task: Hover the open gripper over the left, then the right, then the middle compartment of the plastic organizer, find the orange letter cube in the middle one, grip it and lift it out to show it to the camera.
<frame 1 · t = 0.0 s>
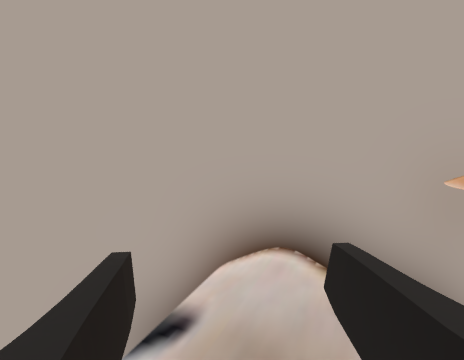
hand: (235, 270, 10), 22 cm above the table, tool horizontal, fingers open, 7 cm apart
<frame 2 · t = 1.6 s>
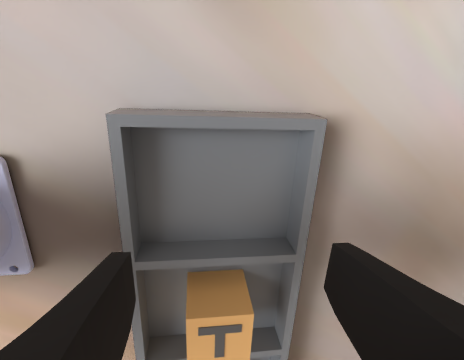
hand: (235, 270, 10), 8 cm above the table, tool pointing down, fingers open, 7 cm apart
organizer: (214, 288, 20), on the table
letter cube: (215, 292, 20), resting on organizer
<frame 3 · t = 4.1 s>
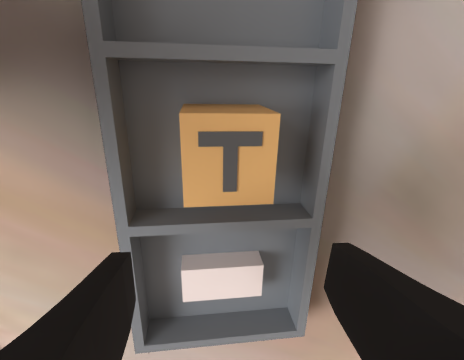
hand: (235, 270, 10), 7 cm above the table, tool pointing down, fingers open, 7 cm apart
organizer: (221, 139, 15), on the table
letter cube: (221, 141, 15), resting on organizer
eraser: (220, 267, 18), resting on organizer
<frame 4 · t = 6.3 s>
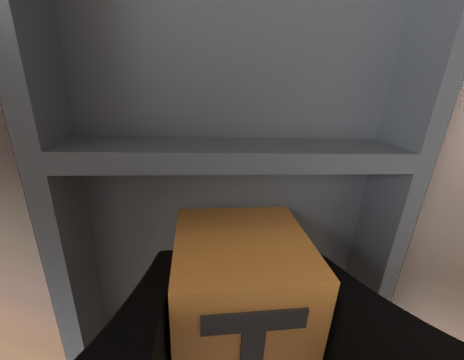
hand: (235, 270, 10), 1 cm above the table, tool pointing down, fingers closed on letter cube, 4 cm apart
organizer: (230, 247, 11), on the table
letter cube: (231, 253, 10), resting on organizer, touching gripper
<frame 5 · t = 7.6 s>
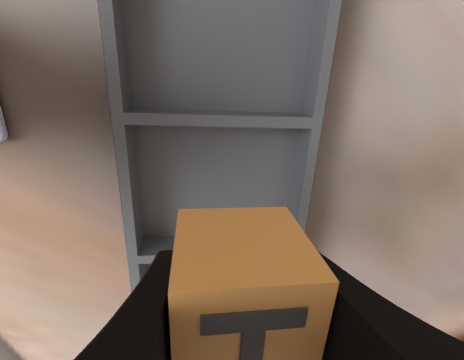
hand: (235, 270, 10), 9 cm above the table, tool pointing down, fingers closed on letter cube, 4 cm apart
organizer: (217, 180, 18), on the table
letter cube: (231, 253, 11), point 8 cm above the table, touching gripper
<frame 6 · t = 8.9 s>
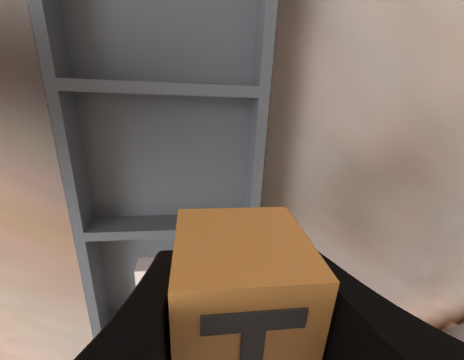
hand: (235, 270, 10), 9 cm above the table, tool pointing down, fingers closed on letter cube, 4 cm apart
organizer: (170, 157, 17), on the table
letter cube: (231, 253, 11), point 8 cm above the table, touching gripper
eraser: (174, 269, 20), resting on organizer
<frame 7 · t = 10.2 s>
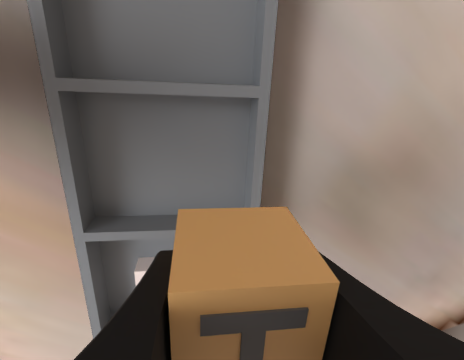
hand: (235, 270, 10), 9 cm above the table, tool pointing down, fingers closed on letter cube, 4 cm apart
organizer: (170, 157, 17), on the table
letter cube: (231, 253, 11), point 8 cm above the table, touching gripper
eraser: (174, 269, 20), resting on organizer
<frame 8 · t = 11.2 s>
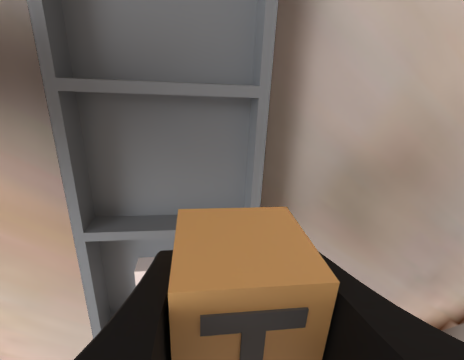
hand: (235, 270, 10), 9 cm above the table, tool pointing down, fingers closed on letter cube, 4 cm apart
organizer: (170, 157, 17), on the table
letter cube: (231, 253, 11), point 8 cm above the table, touching gripper
eraser: (174, 269, 20), resting on organizer
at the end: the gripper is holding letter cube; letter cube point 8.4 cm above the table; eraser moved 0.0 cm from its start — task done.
